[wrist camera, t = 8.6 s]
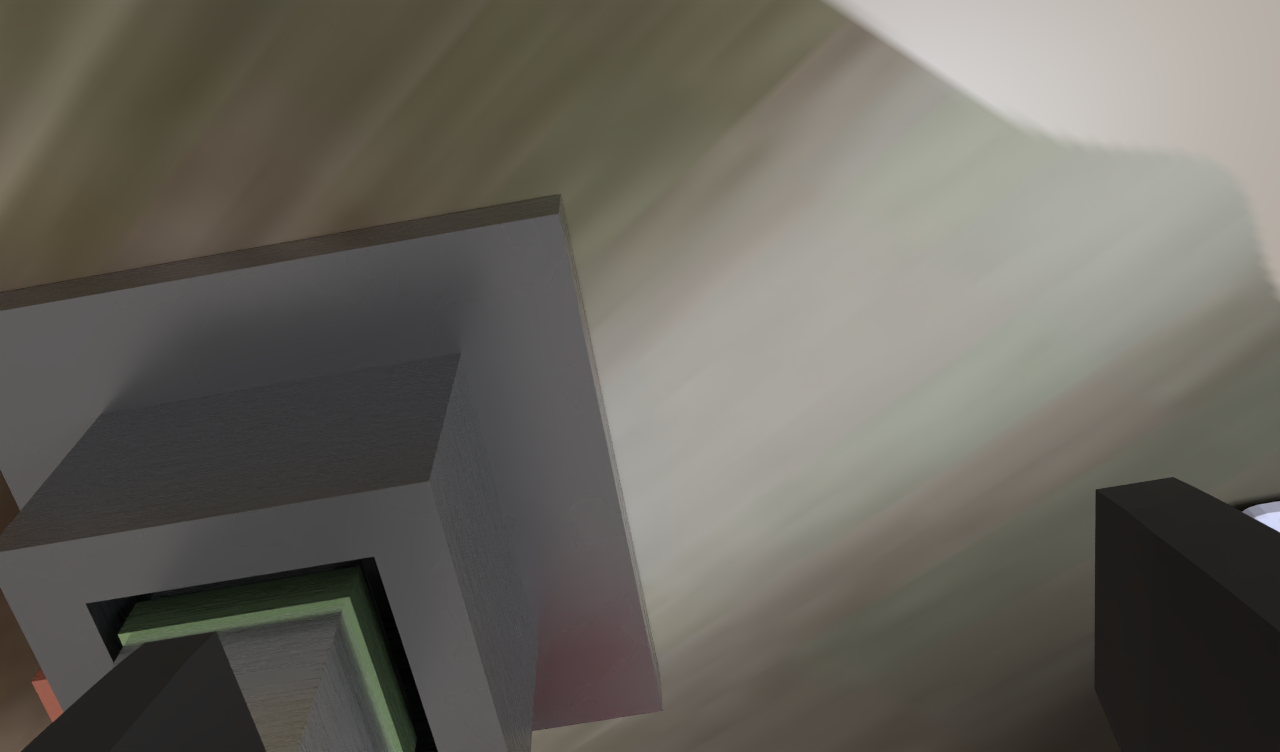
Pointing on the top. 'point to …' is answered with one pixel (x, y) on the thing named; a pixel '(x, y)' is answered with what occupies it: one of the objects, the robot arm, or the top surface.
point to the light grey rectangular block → (295, 655)
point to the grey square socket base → (337, 461)
